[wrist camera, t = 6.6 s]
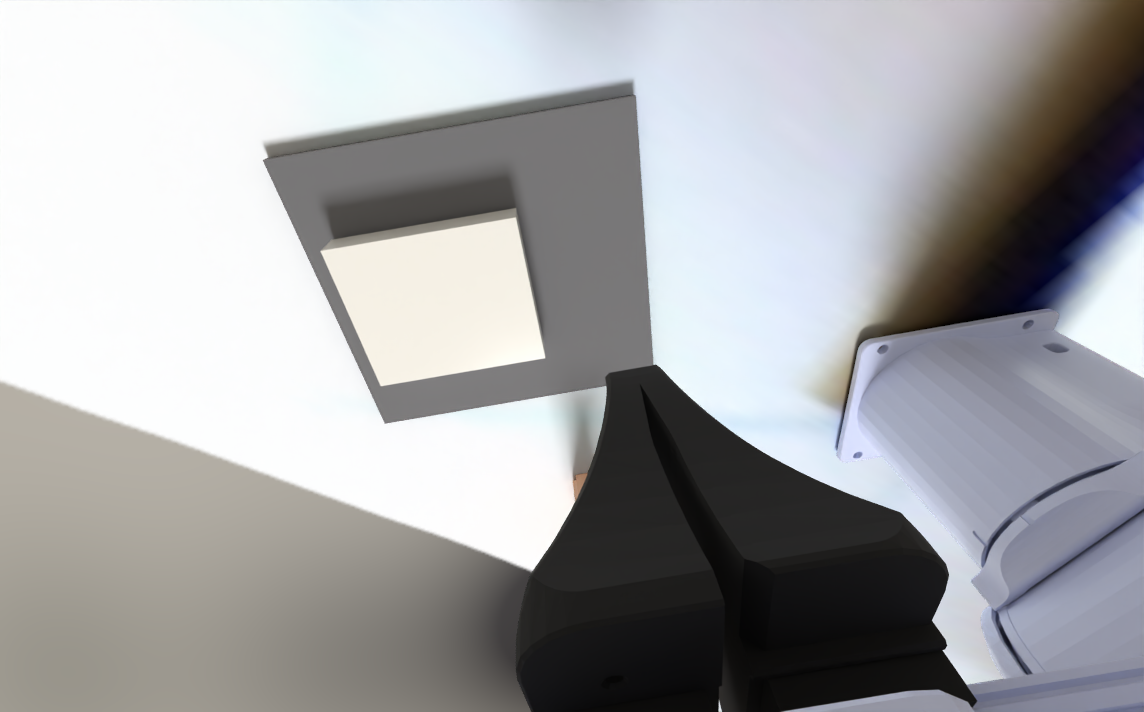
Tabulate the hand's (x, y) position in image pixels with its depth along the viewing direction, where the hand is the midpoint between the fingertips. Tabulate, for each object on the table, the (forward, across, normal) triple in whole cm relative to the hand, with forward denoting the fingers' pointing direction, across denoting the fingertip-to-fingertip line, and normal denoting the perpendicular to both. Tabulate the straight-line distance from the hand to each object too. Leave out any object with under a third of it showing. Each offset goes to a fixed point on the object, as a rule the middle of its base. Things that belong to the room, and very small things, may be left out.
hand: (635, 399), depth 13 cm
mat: (+9, +4, 0) cm, 10 cm away
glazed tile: (+8, +3, 0) cm, 8 cm away
